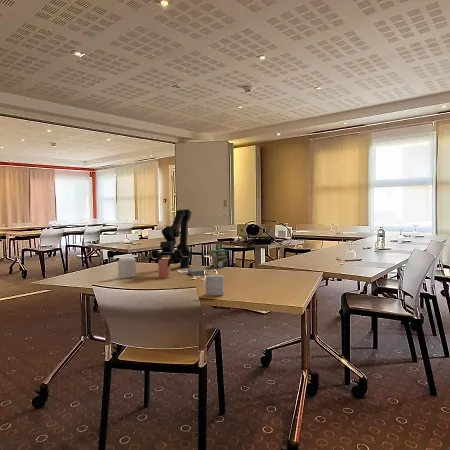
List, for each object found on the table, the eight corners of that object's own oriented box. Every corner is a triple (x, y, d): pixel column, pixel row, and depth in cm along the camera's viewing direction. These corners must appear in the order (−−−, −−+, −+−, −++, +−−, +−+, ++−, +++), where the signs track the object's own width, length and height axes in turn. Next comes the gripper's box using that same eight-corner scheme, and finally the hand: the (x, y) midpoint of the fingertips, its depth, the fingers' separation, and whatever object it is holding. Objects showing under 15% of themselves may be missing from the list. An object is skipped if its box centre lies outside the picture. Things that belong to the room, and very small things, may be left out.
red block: (161, 275, 230) (161, 259, 229) (170, 275, 228) (169, 259, 228) (158, 277, 225) (158, 260, 225) (167, 277, 224) (167, 260, 223)
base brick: (187, 273, 235) (187, 269, 235) (203, 271, 239) (203, 267, 239) (192, 275, 226) (192, 271, 226) (208, 274, 230) (208, 270, 230)
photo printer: (134, 276, 231) (133, 255, 230) (137, 277, 227) (136, 256, 227) (117, 278, 225) (116, 257, 225) (120, 279, 222) (119, 257, 221)
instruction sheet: (176, 270, 247) (176, 270, 247) (198, 269, 251) (198, 268, 251) (179, 272, 237) (179, 272, 237) (201, 271, 241) (201, 270, 241)
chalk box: (220, 265, 265) (219, 243, 264) (228, 266, 258) (227, 244, 257) (209, 266, 259) (208, 244, 259) (217, 268, 252) (216, 245, 251)
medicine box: (223, 293, 178) (223, 274, 178) (223, 295, 174) (222, 276, 173) (207, 293, 179) (206, 275, 178) (205, 295, 174) (205, 276, 174)
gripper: (151, 236, 232) (144, 257, 221) (180, 236, 227) (174, 257, 217) (157, 248, 240) (150, 268, 229) (185, 248, 235) (179, 268, 225)
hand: (163, 265), depth 225 cm, fingers closed on red block, 5 cm apart
